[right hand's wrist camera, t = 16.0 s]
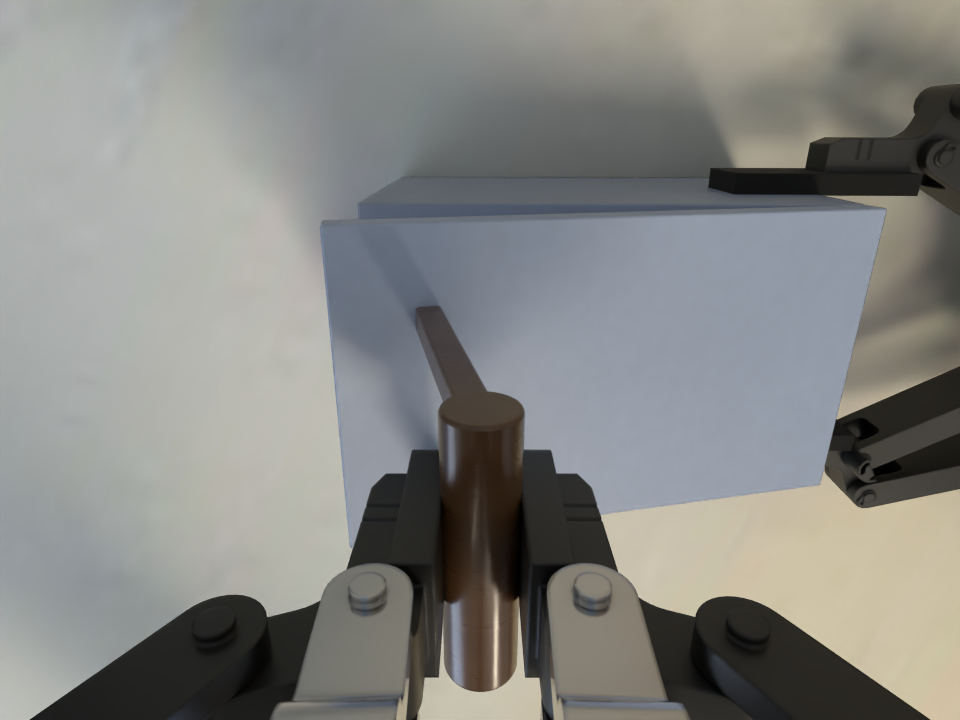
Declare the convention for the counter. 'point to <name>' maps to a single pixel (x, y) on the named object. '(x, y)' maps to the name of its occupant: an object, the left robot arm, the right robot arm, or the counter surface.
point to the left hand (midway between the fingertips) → (702, 313)
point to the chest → (561, 197)
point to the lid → (586, 369)
